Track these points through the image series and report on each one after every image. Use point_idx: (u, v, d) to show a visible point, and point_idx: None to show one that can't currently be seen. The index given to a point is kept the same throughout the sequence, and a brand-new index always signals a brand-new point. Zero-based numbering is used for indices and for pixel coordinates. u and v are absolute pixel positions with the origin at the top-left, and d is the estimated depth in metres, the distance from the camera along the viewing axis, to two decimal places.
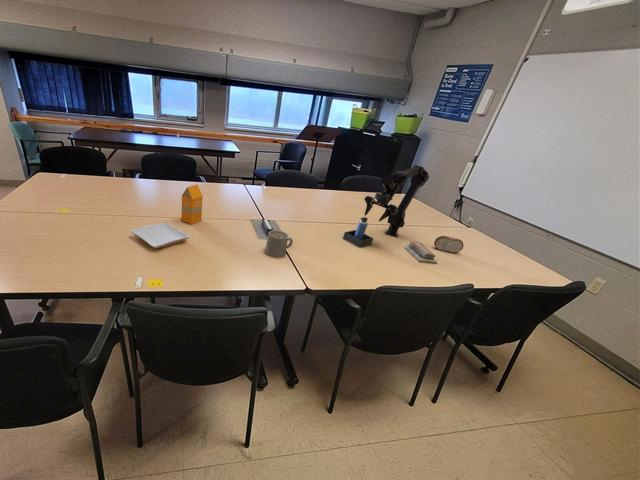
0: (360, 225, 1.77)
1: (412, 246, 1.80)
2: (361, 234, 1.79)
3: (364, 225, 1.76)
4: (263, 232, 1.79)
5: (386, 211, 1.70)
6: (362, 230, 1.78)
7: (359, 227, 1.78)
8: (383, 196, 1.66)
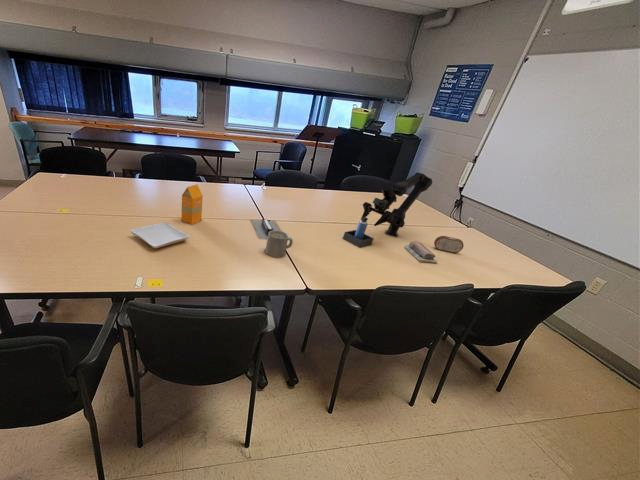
0: (360, 225, 1.77)
1: (412, 246, 1.80)
2: (361, 234, 1.79)
3: (364, 225, 1.76)
4: (263, 232, 1.79)
5: (382, 216, 1.74)
6: (362, 230, 1.78)
7: (359, 227, 1.78)
8: (381, 201, 1.72)
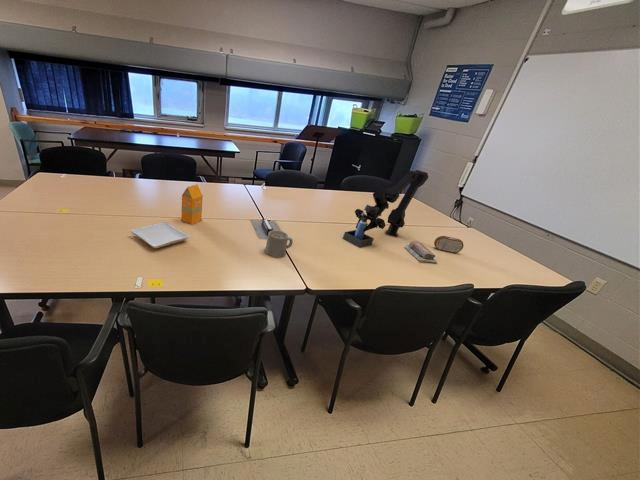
0: (360, 225, 1.77)
1: (412, 246, 1.80)
2: (361, 234, 1.79)
3: (364, 225, 1.76)
4: (263, 232, 1.79)
5: (371, 222, 1.75)
6: (362, 230, 1.78)
7: (359, 227, 1.78)
8: (373, 208, 1.71)
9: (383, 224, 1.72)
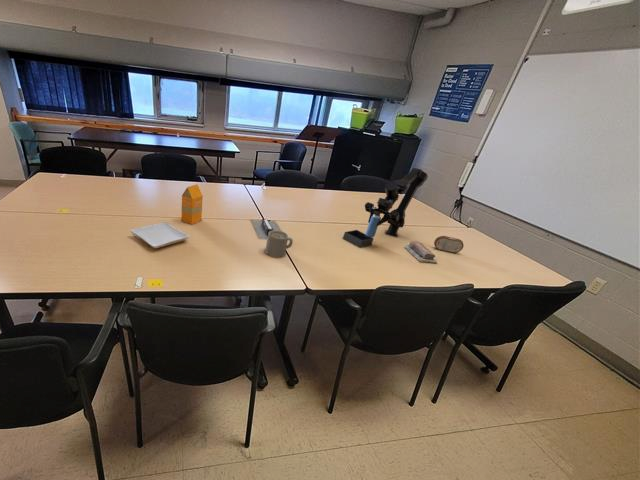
0: (374, 219, 1.70)
1: (412, 246, 1.80)
2: (375, 228, 1.72)
3: (378, 219, 1.69)
4: (263, 232, 1.79)
5: (385, 216, 1.69)
6: (376, 224, 1.71)
7: (373, 221, 1.71)
8: (387, 201, 1.65)
9: (397, 217, 1.67)
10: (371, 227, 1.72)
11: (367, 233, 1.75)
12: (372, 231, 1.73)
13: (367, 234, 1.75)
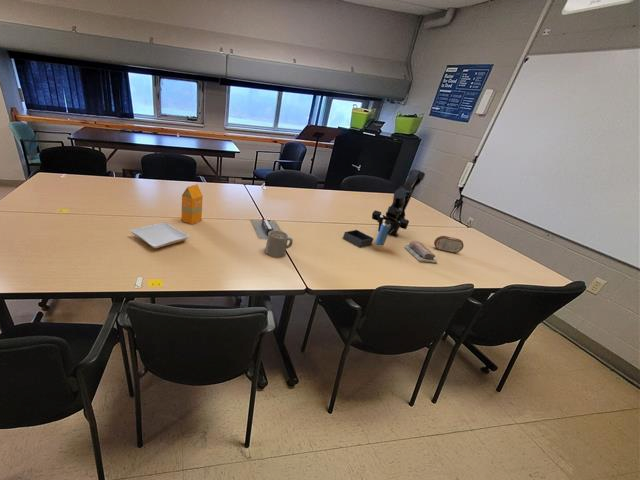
0: (385, 228, 1.68)
1: (412, 246, 1.80)
2: (385, 237, 1.71)
3: (389, 228, 1.68)
4: (263, 232, 1.79)
5: (395, 224, 1.68)
6: (386, 233, 1.70)
7: (383, 230, 1.69)
8: (397, 210, 1.64)
9: (407, 224, 1.67)
10: (382, 236, 1.71)
11: (377, 242, 1.73)
12: (383, 240, 1.72)
13: (377, 243, 1.73)
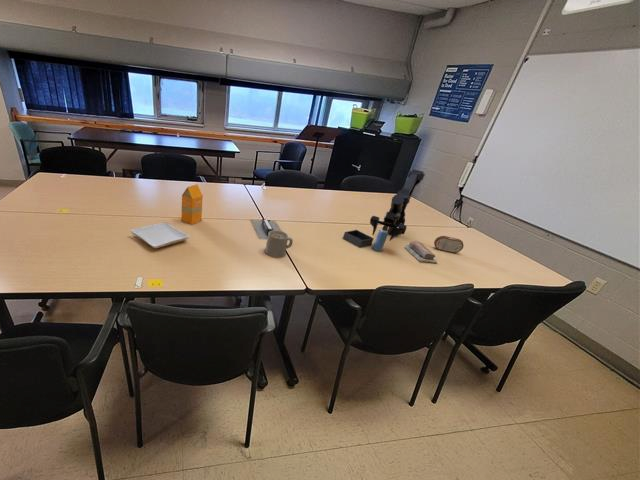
0: (382, 234, 1.70)
1: (412, 246, 1.80)
2: (383, 243, 1.73)
3: (386, 234, 1.70)
4: (263, 232, 1.79)
5: (396, 230, 1.68)
6: (384, 239, 1.71)
7: (381, 236, 1.71)
8: (395, 215, 1.65)
9: (405, 230, 1.69)
10: (379, 242, 1.73)
11: (375, 248, 1.75)
12: (380, 246, 1.73)
13: (375, 249, 1.75)
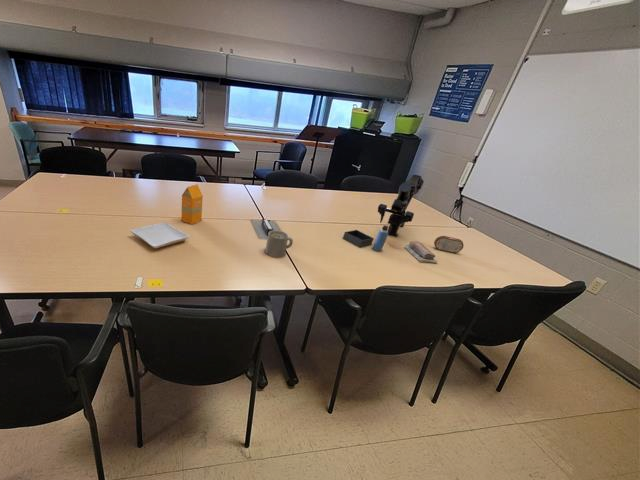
0: (382, 234, 1.70)
1: (412, 246, 1.80)
2: (383, 243, 1.73)
3: (386, 234, 1.70)
4: (263, 232, 1.79)
5: (404, 218, 1.73)
6: (384, 239, 1.71)
7: (381, 236, 1.71)
8: (403, 202, 1.69)
9: (412, 217, 1.73)
10: (379, 242, 1.73)
11: (375, 248, 1.75)
12: (380, 246, 1.73)
13: (375, 249, 1.75)
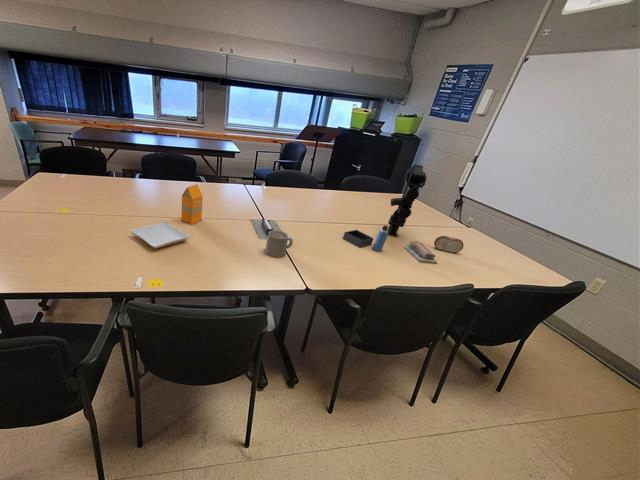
0: (382, 234, 1.70)
1: (412, 246, 1.80)
2: (383, 243, 1.73)
3: (386, 234, 1.70)
4: (263, 232, 1.79)
5: (399, 214, 1.74)
6: (384, 239, 1.71)
7: (381, 236, 1.71)
8: (391, 202, 1.76)
9: (404, 212, 1.70)
10: (379, 242, 1.73)
11: (375, 248, 1.75)
12: (380, 246, 1.73)
13: (375, 249, 1.75)
